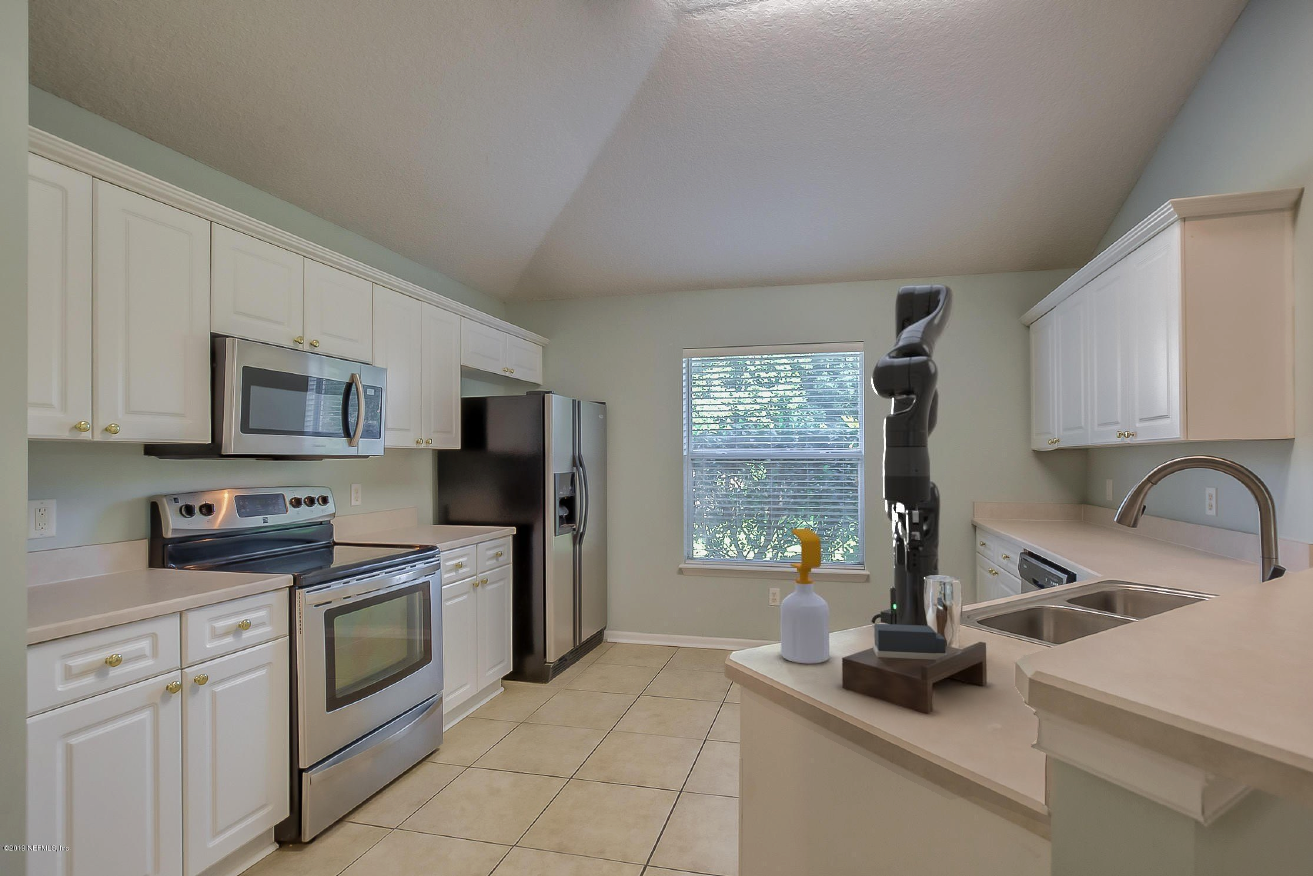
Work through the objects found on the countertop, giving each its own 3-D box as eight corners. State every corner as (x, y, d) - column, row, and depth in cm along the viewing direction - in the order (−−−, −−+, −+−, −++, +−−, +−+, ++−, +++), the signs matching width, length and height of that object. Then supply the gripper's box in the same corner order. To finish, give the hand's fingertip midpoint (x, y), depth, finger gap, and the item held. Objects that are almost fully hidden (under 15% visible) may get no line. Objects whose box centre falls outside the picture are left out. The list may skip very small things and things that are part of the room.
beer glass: (944, 663, 123) (943, 582, 124) (916, 653, 130) (915, 576, 130) (971, 658, 126) (970, 579, 127) (942, 649, 133) (941, 573, 133)
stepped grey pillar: (877, 657, 111) (877, 630, 111) (873, 649, 115) (873, 623, 116) (946, 660, 109) (946, 633, 109) (940, 652, 114) (939, 626, 114)
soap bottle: (812, 648, 133) (811, 526, 134) (838, 661, 125) (837, 531, 125) (772, 653, 130) (771, 528, 131) (796, 666, 122) (795, 533, 123)
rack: (842, 687, 111) (841, 645, 111) (904, 663, 124) (904, 625, 124) (927, 714, 99) (927, 667, 99) (986, 684, 112) (986, 642, 112)
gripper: (939, 474, 106) (941, 576, 105) (920, 472, 120) (921, 562, 119) (890, 474, 107) (892, 575, 106) (877, 472, 121) (878, 561, 120)
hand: (907, 568), depth 113 cm, fingers open, 8 cm apart
